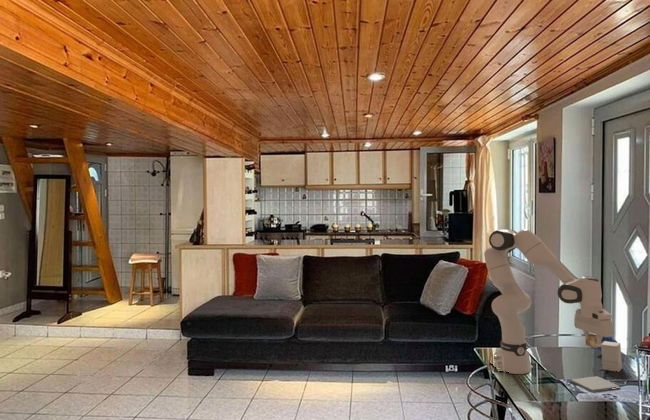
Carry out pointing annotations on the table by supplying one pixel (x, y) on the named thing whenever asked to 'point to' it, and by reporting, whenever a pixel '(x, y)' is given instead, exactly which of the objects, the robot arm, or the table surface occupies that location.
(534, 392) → the table surface
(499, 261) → the robot arm
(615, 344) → the supplement box
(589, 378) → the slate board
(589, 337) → the birch block
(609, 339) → the grapes
